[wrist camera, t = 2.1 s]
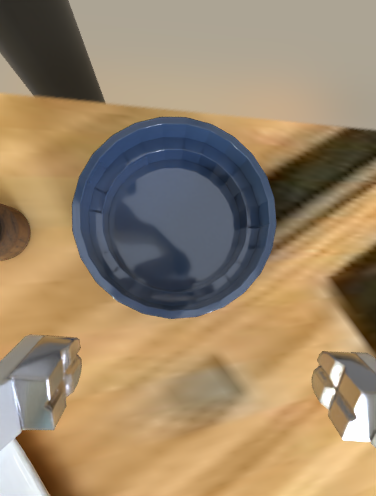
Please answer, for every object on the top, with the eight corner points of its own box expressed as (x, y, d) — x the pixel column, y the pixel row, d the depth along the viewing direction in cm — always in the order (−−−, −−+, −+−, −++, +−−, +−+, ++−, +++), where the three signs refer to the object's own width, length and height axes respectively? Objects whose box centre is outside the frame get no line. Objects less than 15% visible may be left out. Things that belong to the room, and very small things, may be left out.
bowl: (71, 169, 27) (45, 143, 21) (225, 130, 30) (240, 97, 24) (120, 330, 27) (108, 349, 21) (273, 276, 29) (301, 279, 23)
